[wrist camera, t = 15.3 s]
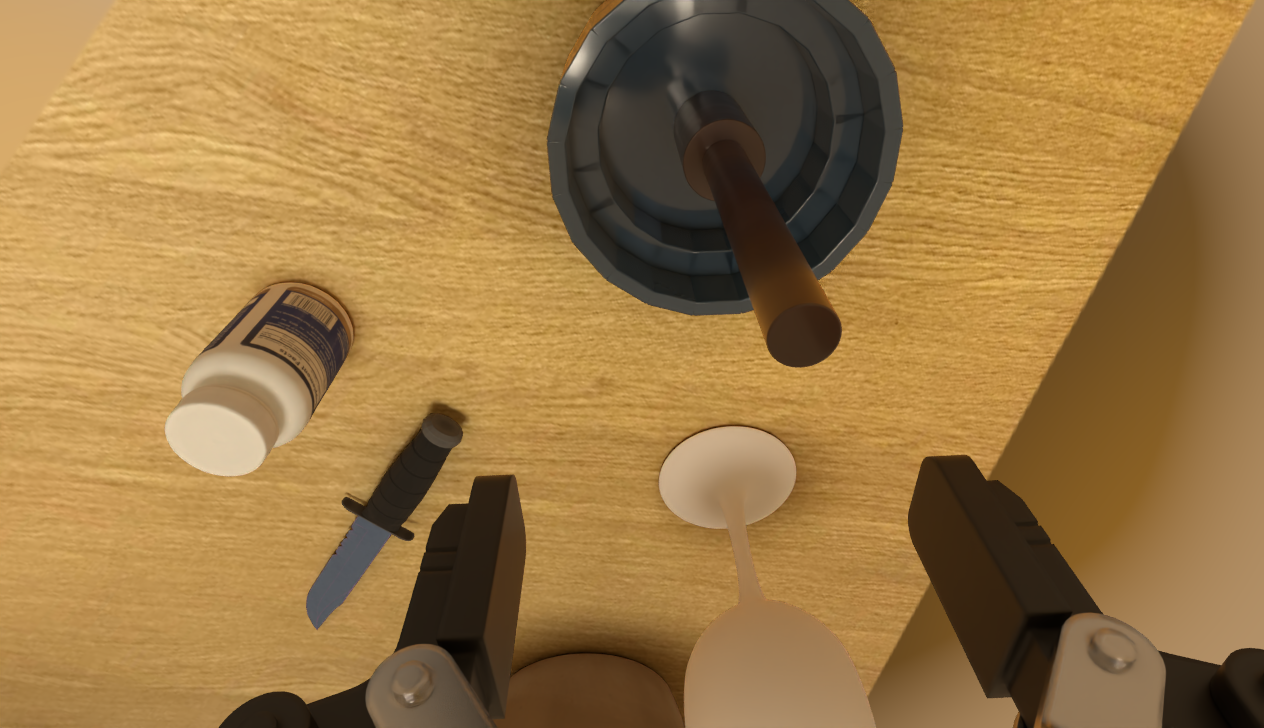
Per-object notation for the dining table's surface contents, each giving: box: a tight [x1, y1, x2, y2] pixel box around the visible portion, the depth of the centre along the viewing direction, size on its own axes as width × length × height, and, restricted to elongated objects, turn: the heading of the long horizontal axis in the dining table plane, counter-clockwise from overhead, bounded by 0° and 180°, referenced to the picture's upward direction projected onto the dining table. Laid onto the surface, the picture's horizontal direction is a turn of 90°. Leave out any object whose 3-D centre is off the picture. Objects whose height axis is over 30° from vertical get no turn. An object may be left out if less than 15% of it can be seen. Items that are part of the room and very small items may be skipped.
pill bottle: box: [165, 282, 353, 476], centre depth 32 cm, size 5×5×10 cm
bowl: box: [547, 0, 903, 316], centre depth 28 cm, size 13×13×6 cm
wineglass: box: [659, 426, 876, 728], centre depth 34 cm, size 9×9×21 cm
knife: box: [306, 413, 463, 630], centre depth 44 cm, size 24×2×5 cm
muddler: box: [673, 91, 842, 367], centre depth 23 cm, size 3×3×18 cm
